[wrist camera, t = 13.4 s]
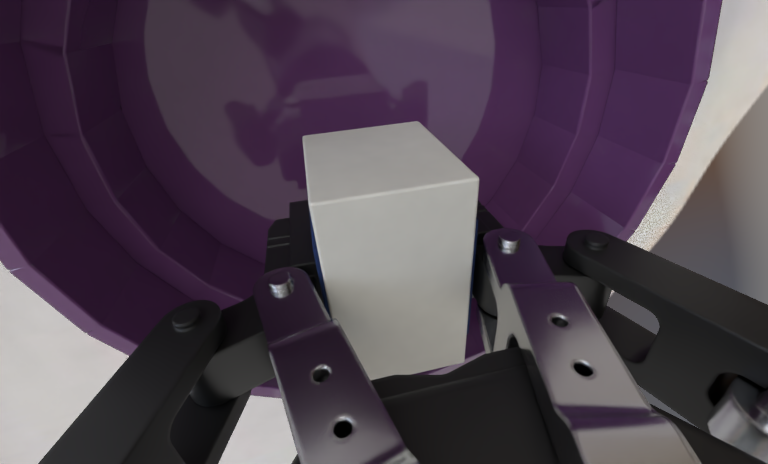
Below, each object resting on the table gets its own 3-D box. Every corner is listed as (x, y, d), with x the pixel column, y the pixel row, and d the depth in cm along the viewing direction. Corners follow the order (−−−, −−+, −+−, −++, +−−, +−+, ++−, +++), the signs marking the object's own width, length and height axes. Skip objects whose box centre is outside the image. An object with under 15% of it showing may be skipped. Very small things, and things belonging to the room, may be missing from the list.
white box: (298, 135, 11) (302, 205, 7) (421, 119, 11) (485, 176, 8) (327, 288, 14) (341, 392, 10) (423, 270, 15) (468, 362, 11)
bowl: (-89, -251, 8) (-741, -686, 3) (615, -238, 10) (919, -463, 5) (188, 318, 17) (145, 449, 12) (527, 254, 19) (609, 340, 14)
